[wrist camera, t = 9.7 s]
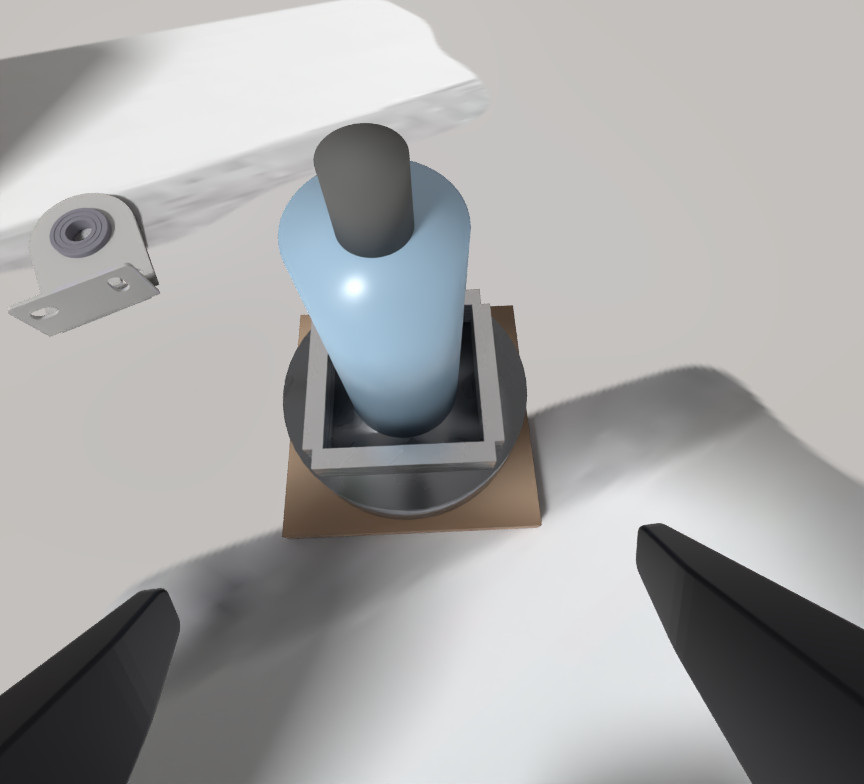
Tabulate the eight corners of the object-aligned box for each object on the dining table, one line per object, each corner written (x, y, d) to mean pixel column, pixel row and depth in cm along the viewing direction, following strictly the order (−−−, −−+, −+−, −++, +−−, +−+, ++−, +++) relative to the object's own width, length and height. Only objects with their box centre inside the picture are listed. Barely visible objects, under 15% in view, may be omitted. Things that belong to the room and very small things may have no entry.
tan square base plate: (537, 527, 22) (566, 510, 17) (288, 538, 22) (243, 525, 17) (510, 315, 27) (526, 251, 22) (305, 324, 27) (273, 263, 22)
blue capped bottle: (478, 398, 20) (524, 174, 9) (388, 459, 19) (318, 289, 8) (417, 323, 22) (393, 55, 11) (331, 376, 21) (208, 139, 10)
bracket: (130, 191, 31) (94, 147, 28) (165, 300, 28) (129, 264, 25) (32, 225, 30) (-16, 184, 27) (56, 343, 27) (4, 311, 24)
